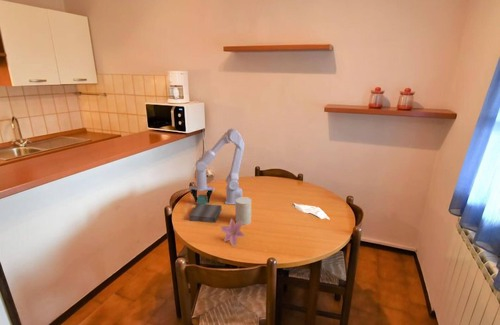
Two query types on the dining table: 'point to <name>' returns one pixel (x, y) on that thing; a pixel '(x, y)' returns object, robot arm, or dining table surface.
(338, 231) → the dining table surface
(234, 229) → the lily
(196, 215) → the plinth
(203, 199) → the block
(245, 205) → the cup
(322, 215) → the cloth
